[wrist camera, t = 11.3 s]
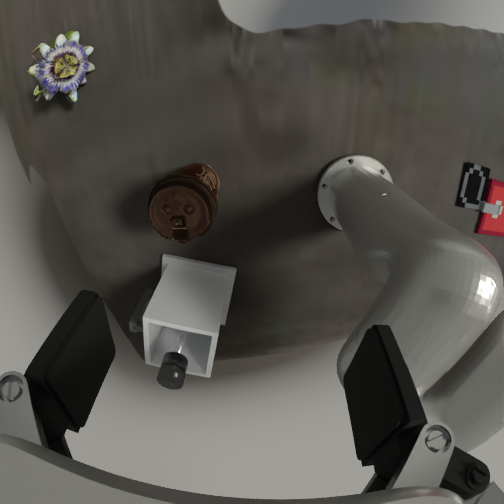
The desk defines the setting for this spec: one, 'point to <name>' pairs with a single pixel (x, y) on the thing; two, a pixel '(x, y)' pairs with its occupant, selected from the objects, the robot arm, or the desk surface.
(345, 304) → the desk surface
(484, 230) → the red board with handle
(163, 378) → the plunger
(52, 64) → the passion flower
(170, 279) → the press housing
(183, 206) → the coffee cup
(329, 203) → the robot arm
